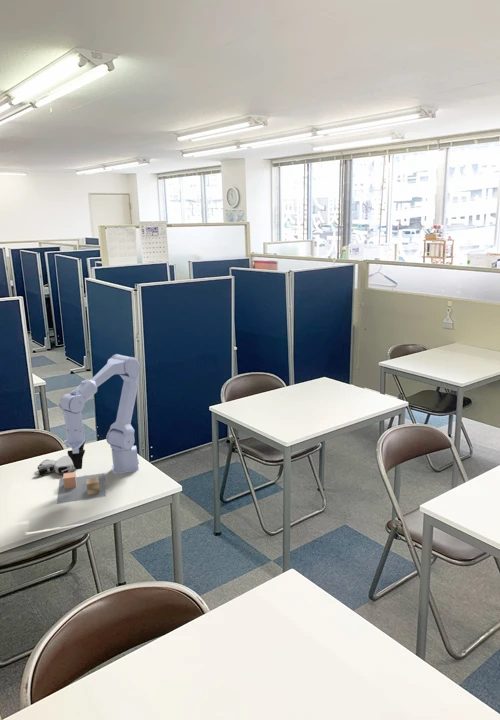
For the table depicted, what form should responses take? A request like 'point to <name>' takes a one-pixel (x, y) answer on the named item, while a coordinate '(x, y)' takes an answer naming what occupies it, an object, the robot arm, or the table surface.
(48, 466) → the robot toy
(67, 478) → the base brick
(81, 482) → the baseplate
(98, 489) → the top brick
